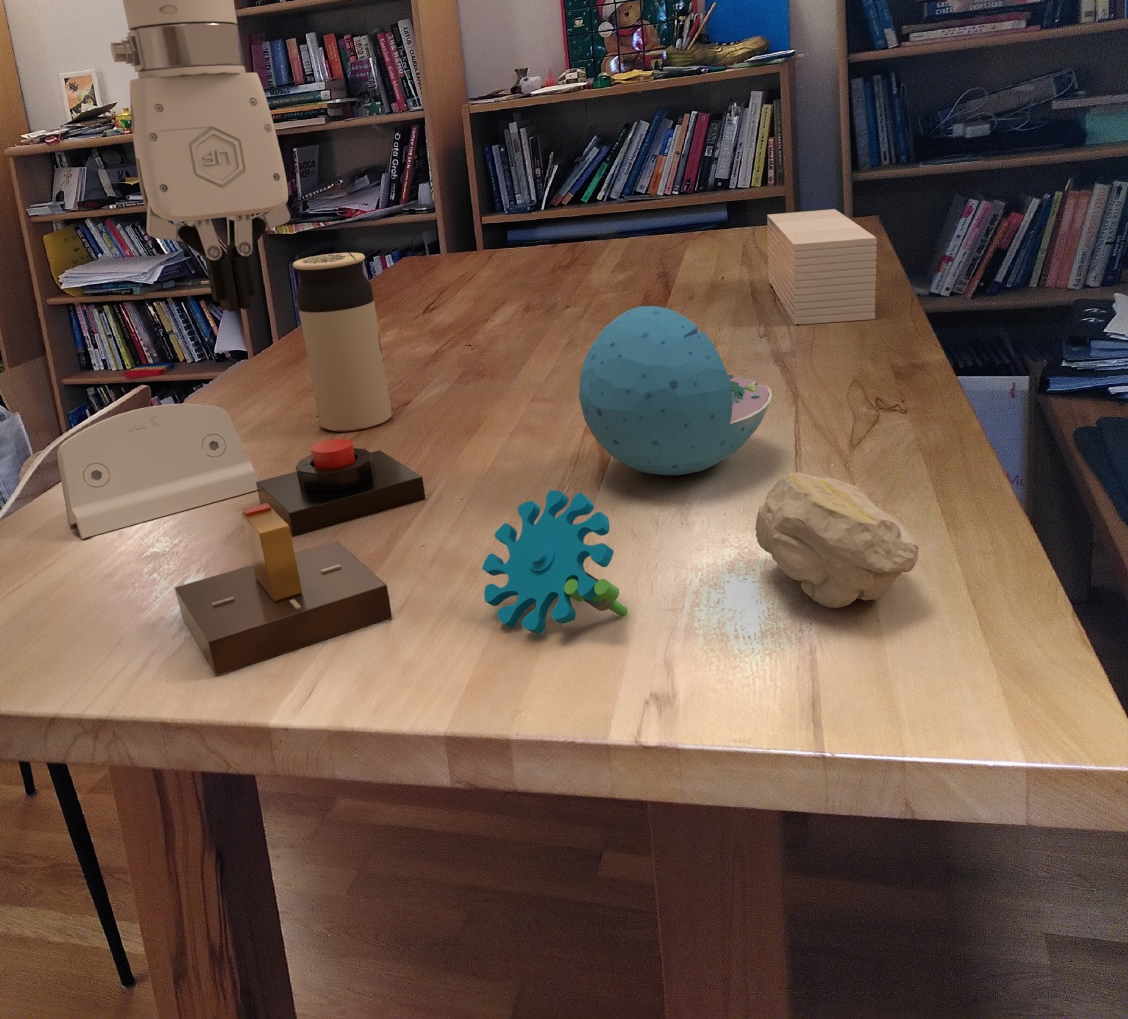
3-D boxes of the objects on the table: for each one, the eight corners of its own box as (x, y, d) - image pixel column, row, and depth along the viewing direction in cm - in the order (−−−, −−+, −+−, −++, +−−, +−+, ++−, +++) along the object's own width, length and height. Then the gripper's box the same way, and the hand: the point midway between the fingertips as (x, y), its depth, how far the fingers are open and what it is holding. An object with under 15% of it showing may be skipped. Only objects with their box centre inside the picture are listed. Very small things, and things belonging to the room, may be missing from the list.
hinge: (78, 539, 90) (41, 427, 89) (73, 541, 94) (38, 434, 93) (265, 487, 98) (233, 384, 97) (253, 491, 102) (222, 392, 101)
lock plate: (216, 676, 66) (207, 639, 65) (182, 618, 74) (173, 585, 73) (392, 617, 71) (386, 582, 70) (342, 569, 79) (336, 537, 78)
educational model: (812, 450, 95) (812, 284, 89) (682, 519, 83) (672, 332, 77) (677, 424, 105) (669, 274, 99) (544, 482, 93) (527, 315, 88)
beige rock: (819, 542, 77) (720, 596, 72) (806, 436, 74) (701, 485, 69) (961, 582, 67) (858, 648, 62) (952, 462, 64) (843, 521, 59)
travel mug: (318, 437, 112) (286, 268, 105) (322, 416, 119) (293, 257, 113) (392, 427, 113) (366, 259, 106) (392, 407, 120) (367, 249, 114)
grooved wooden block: (874, 319, 140) (876, 237, 136) (794, 325, 141) (793, 243, 137) (834, 277, 169) (835, 208, 165) (768, 282, 170) (767, 214, 166)
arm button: (322, 474, 89) (318, 455, 89) (309, 464, 92) (305, 445, 92) (361, 464, 91) (358, 445, 90) (347, 454, 94) (344, 435, 93)
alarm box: (293, 537, 86) (284, 492, 85) (260, 504, 94) (251, 462, 93) (426, 499, 92) (419, 457, 90) (383, 471, 100) (377, 431, 98)
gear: (452, 586, 71) (533, 464, 72) (503, 615, 75) (579, 500, 76) (551, 662, 63) (641, 525, 64) (602, 690, 68) (686, 562, 68)
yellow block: (303, 593, 70) (288, 521, 68) (273, 602, 69) (258, 529, 67) (282, 569, 74) (268, 501, 72) (254, 577, 73) (239, 509, 71)
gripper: (87, 56, 69) (146, 330, 76) (304, 47, 76) (342, 299, 83) (72, 64, 76) (129, 317, 82) (275, 55, 82) (312, 289, 89)
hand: (235, 307), depth 82 cm, fingers closed
